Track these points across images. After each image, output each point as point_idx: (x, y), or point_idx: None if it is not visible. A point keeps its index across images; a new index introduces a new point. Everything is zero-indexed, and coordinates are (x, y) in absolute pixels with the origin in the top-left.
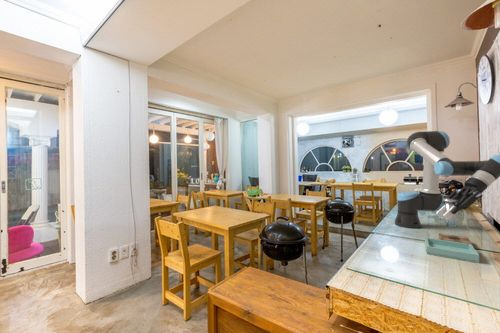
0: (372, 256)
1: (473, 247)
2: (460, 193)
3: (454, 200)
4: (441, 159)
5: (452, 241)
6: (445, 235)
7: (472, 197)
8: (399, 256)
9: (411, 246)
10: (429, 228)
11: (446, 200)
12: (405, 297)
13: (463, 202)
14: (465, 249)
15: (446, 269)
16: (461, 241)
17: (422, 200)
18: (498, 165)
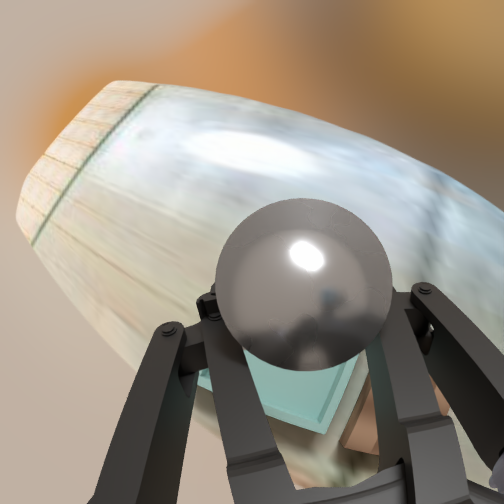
0: (215, 116)
1: (280, 419)
2: (415, 472)
3: (216, 284)
4: None
5: (370, 387)
6: (438, 389)
7: (110, 464)
8: (223, 166)
9: None
10: None
11: (258, 213)
12: (70, 145)
13: (167, 364)
14: (313, 407)
15: (144, 249)
16: (368, 420)
17: None
18: None
